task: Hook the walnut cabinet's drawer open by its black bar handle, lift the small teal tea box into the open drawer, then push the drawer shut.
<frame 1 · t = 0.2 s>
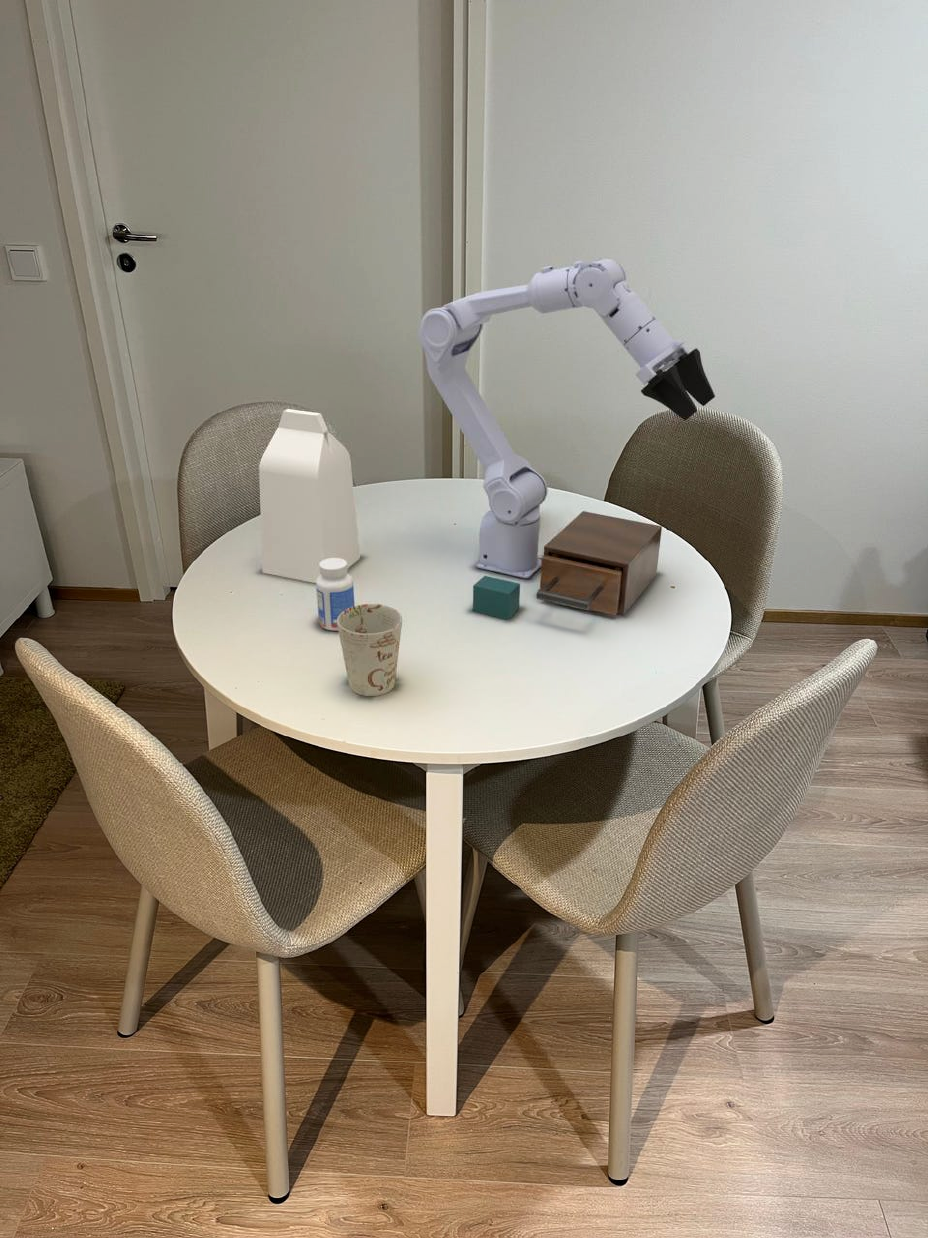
hand: (700, 408, 138), 31 cm above the table, tool tilted 45°, fingers open, 7 cm apart
tin: (522, 527, 179), on the table
cabinet: (600, 585, 158), on the table
milk: (312, 566, 164), on the table
tea box: (495, 610, 150), on the table
pill bottle: (337, 624, 146), on the table
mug: (366, 678, 132), on the table
drawer: (588, 575, 151), point 4 cm above the table, slide at 1.0 cm
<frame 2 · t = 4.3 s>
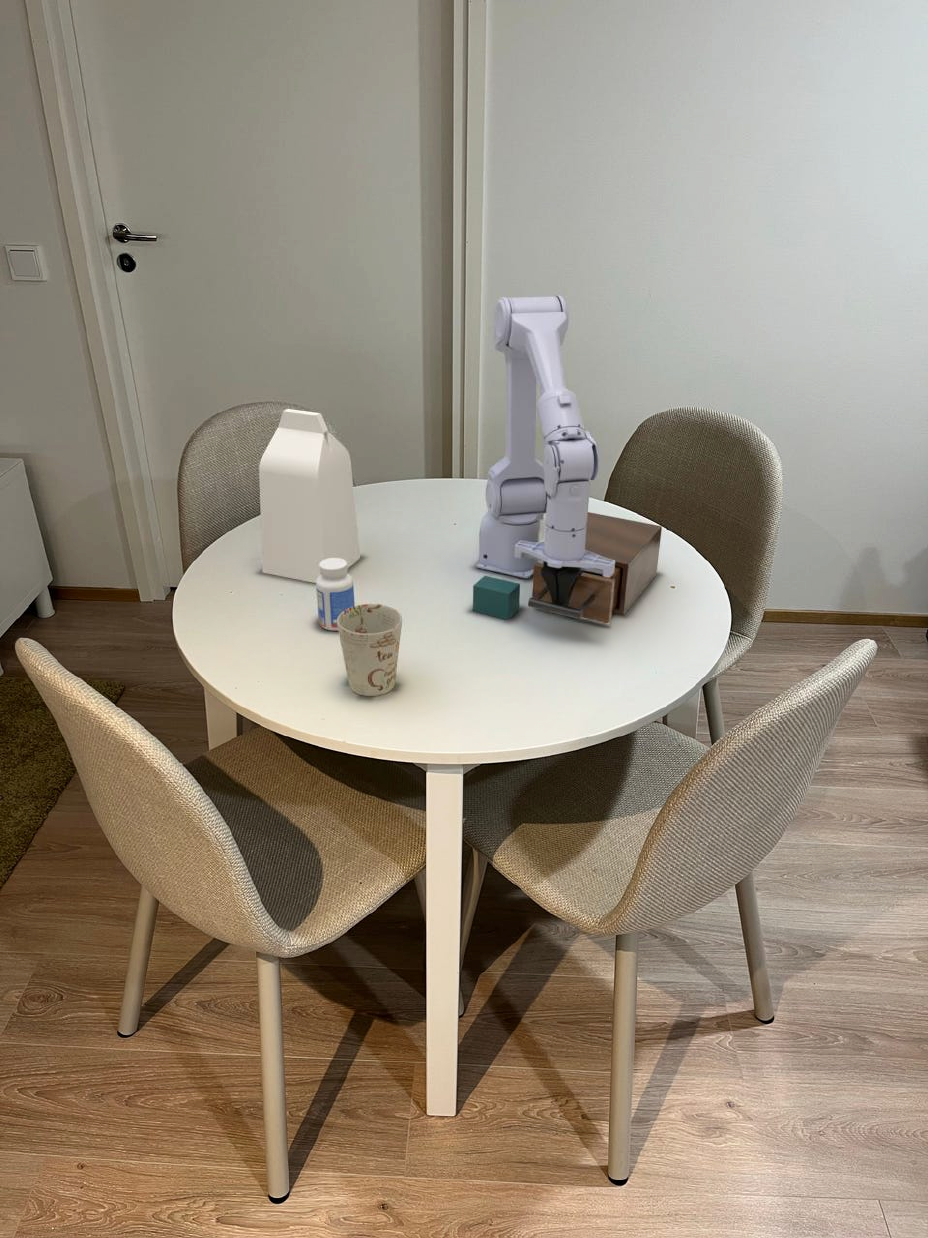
hand: (560, 610, 143), 3 cm above the table, tool pointing down, fingers closed, pressing on drawer
drawer: (581, 582, 149), point 4 cm above the table, slide at 4.0 cm, touching gripper
everything else where it was.
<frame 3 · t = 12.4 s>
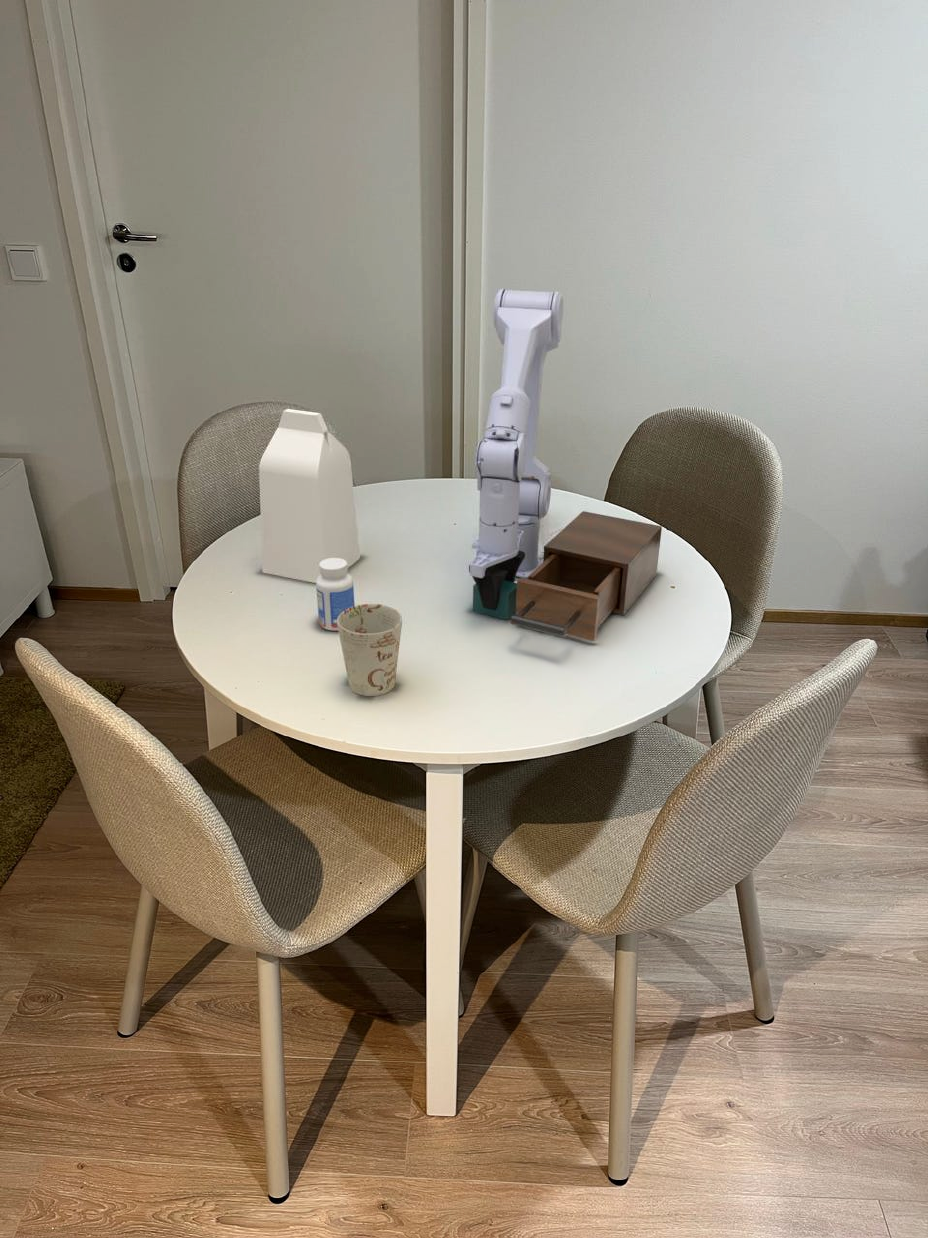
hand: (496, 602, 149), 1 cm above the table, tool pointing down, fingers closed on tea box, 4 cm apart
tea box: (495, 610, 150), on the table, touching gripper
drawer: (566, 598, 144), point 4 cm above the table, slide at 10.0 cm
everything else where it was.
when the fingers open (3 cm above the table, at t = 17.4 s): tea box stays where it is, resting on drawer.
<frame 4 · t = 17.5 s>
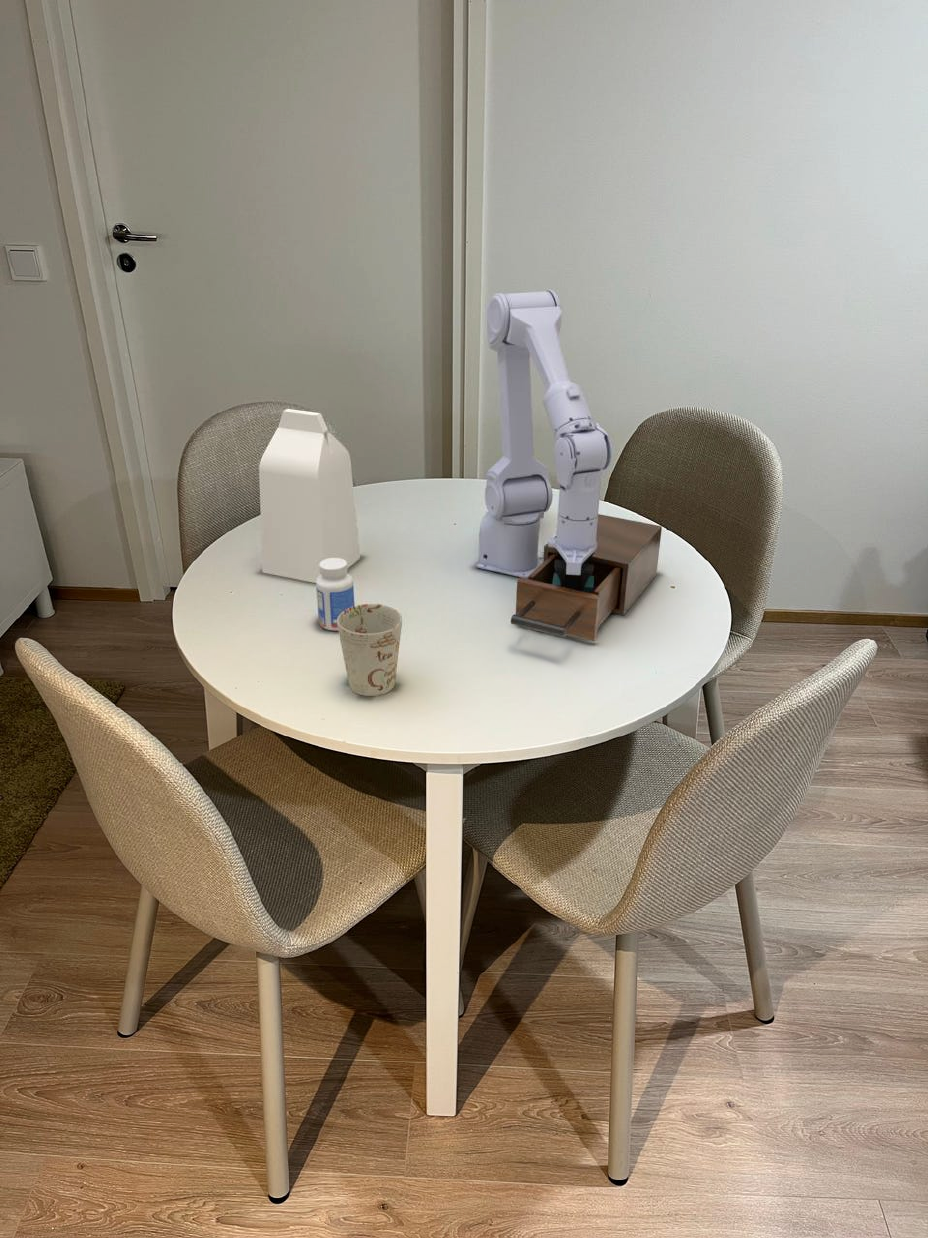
hand: (572, 598, 146), 3 cm above the table, tool pointing down, fingers open, 4 cm apart
tea box: (571, 606, 147), point 2 cm above the table, touching drawer
drawer: (566, 598, 144), point 4 cm above the table, slide at 10.0 cm, touching tea box
everything else where it was.
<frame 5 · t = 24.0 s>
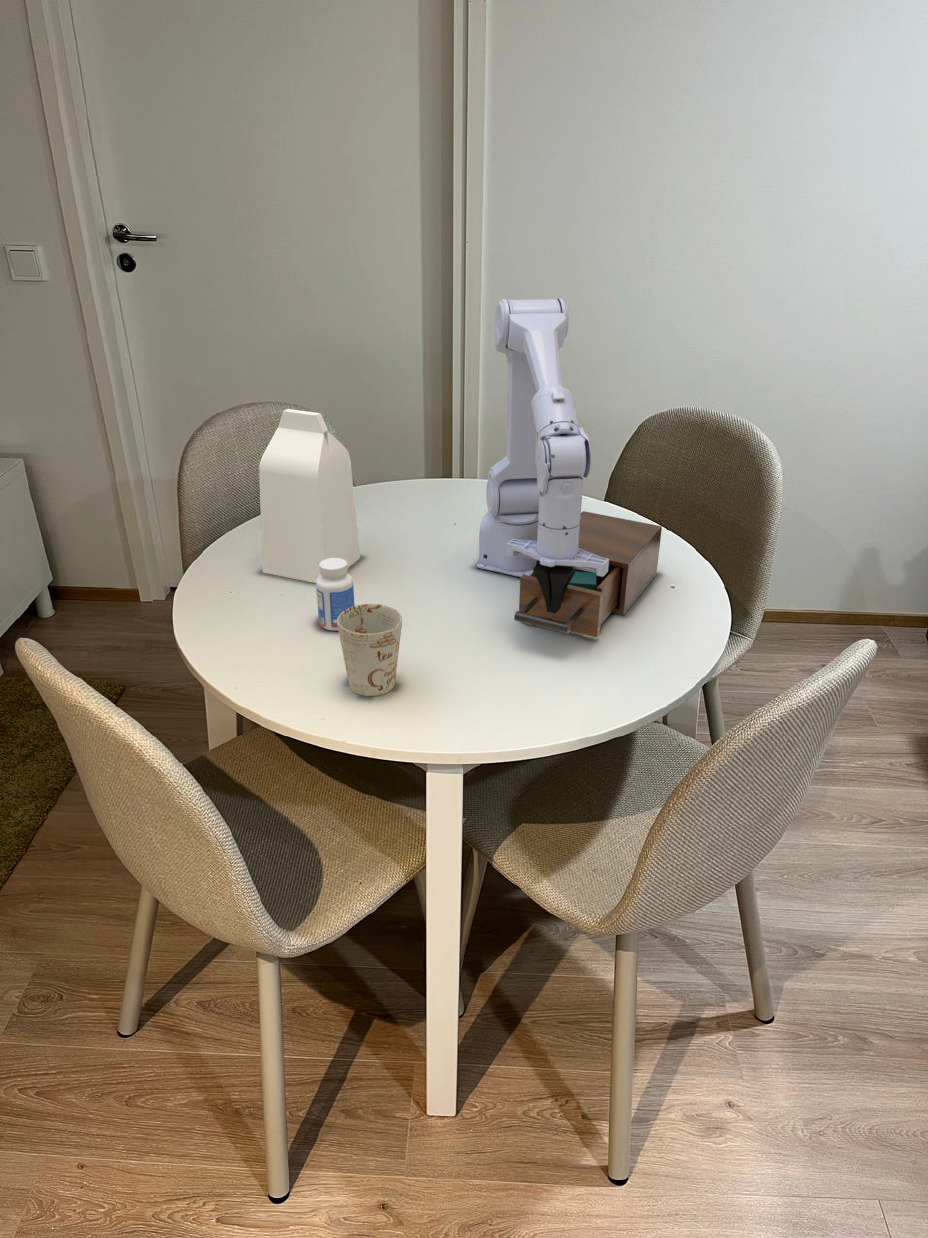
hand: (553, 609, 140), 5 cm above the table, tool pointing down, fingers closed, pressing on drawer
tea box: (574, 603, 148), point 2 cm above the table, touching drawer
drawer: (569, 595, 145), point 4 cm above the table, slide at 8.9 cm, touching gripper, tea box
everything else where it was.
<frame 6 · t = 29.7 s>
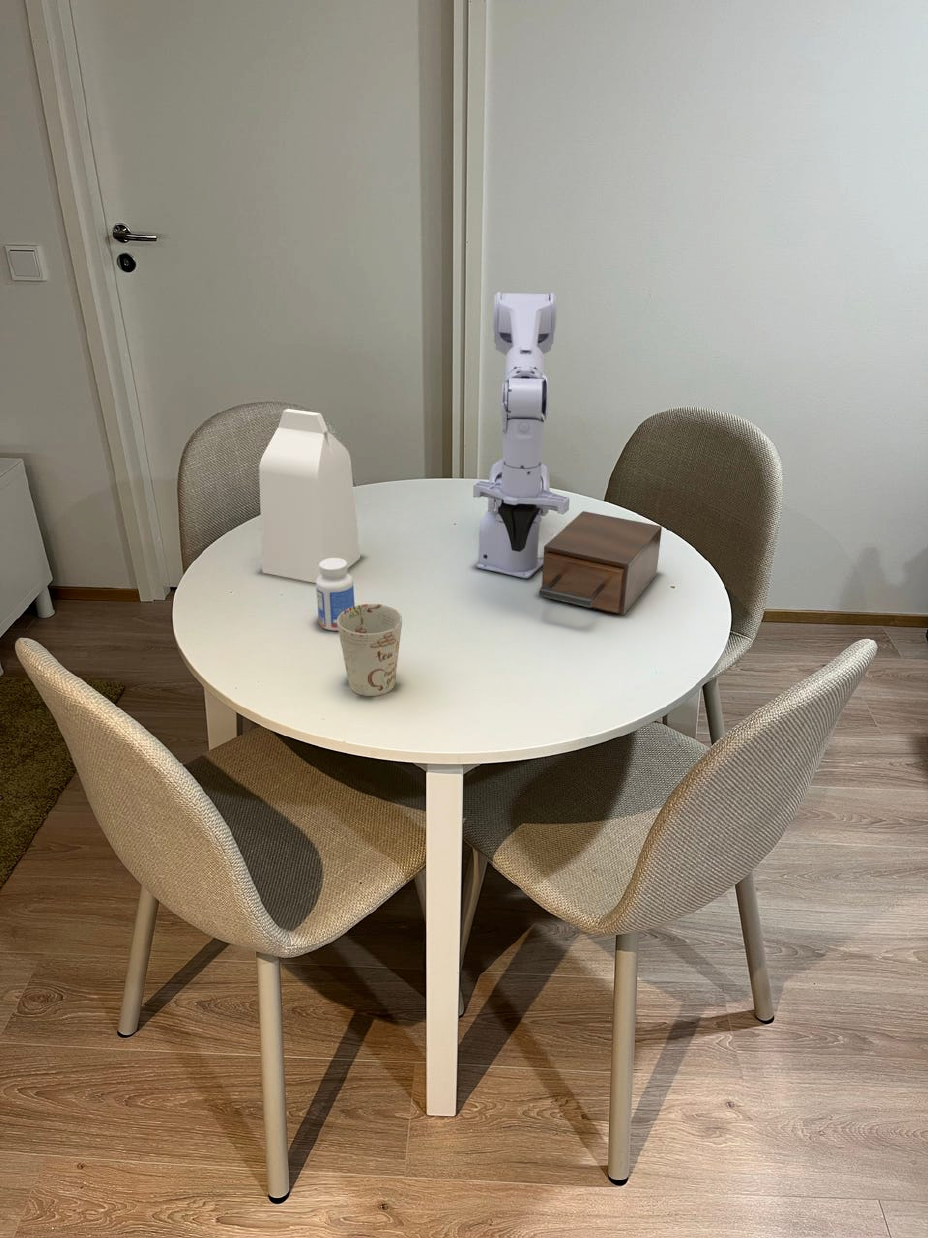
hand: (518, 548, 147), 10 cm above the table, tool pointing down, fingers closed
tea box: (595, 580, 155), point 2 cm above the table, touching drawer
drawer: (590, 572, 152), point 4 cm above the table, slide at 0.0 cm, touching tea box
everything else where it was.
at the end: drawer pulled out 10.1 cm at the most during the clip, back to where it started at the end; tea box inside the target area in the cabinet (2.1 cm from its centre), point 2.0 cm above the cabinet's base; drawer slide at 0.0 cm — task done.
